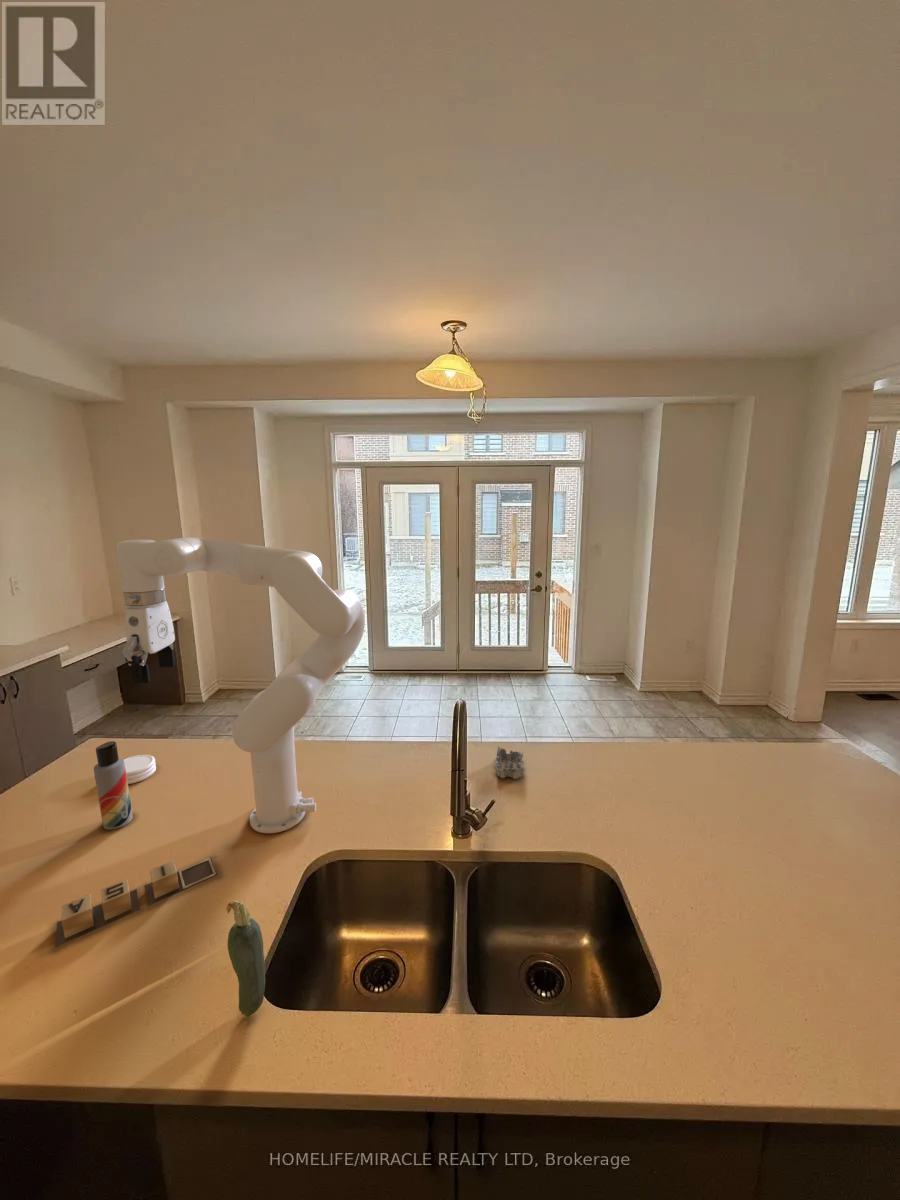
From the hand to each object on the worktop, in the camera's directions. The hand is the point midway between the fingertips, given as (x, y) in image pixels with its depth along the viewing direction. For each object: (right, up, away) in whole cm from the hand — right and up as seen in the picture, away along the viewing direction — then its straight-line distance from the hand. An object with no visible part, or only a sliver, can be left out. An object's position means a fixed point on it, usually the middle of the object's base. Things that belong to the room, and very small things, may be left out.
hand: (155, 674), depth 102 cm
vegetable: (+36, -44, -35) cm, 67 cm away
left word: (+2, -41, -18) cm, 45 cm away
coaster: (-22, -32, +26) cm, 47 cm away
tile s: (+4, -40, -17) cm, 44 cm away
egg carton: (+82, -32, +29) cm, 92 cm away
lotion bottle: (-13, -36, +7) cm, 39 cm away
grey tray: (+12, -39, -10) cm, 42 cm away
